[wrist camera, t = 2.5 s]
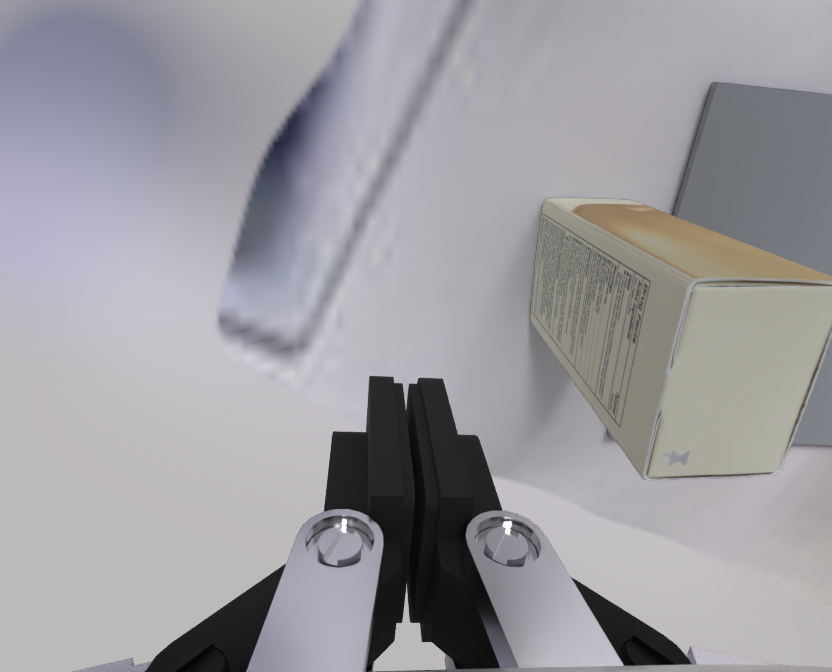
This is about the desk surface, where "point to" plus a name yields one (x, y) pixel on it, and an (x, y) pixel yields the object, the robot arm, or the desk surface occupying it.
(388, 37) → the desk surface
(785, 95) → the desk mat
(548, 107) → the desk surface
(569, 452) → the desk surface
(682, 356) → the skincare box
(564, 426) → the desk surface
